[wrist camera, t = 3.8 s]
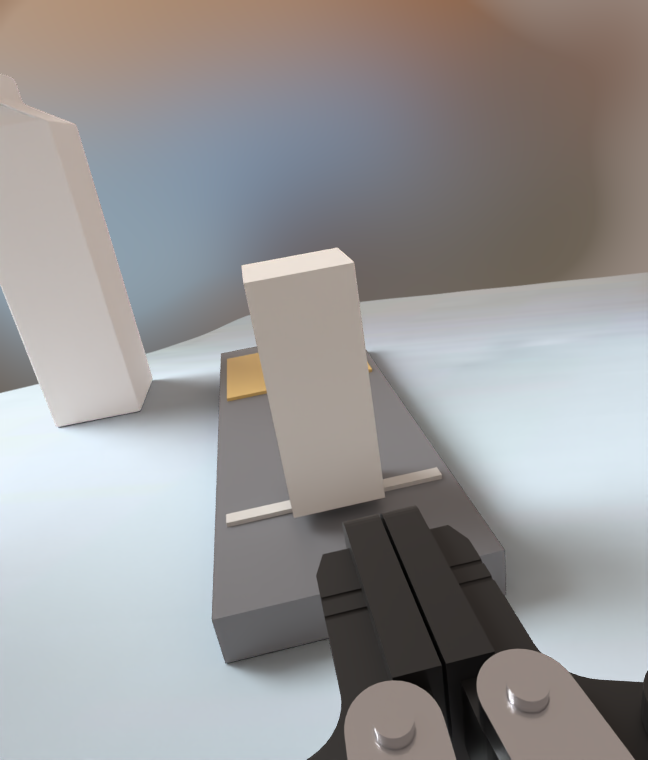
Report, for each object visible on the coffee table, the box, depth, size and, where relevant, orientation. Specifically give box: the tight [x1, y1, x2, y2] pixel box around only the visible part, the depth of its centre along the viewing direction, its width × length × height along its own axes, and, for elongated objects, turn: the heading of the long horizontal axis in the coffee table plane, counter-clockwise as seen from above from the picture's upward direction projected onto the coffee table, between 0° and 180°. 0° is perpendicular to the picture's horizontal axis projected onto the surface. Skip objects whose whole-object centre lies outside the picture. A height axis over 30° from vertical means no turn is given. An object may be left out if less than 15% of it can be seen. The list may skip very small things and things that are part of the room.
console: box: [212, 347, 506, 663], centre depth 31 cm, size 10×26×2 cm, turn 9°
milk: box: [0, 74, 153, 427], centre depth 38 cm, size 6×6×22 cm
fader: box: [242, 248, 385, 518], centre depth 21 cm, size 4×3×9 cm
